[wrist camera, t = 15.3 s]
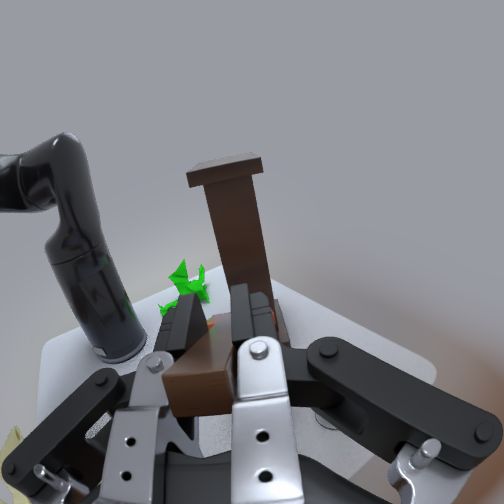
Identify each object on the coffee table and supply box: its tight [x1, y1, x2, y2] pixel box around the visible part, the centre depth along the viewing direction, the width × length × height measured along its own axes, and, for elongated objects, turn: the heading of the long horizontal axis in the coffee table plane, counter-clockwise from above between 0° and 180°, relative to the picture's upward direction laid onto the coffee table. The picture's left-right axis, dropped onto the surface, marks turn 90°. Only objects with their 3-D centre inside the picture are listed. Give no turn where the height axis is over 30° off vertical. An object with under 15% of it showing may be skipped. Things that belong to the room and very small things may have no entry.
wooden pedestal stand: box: [186, 152, 291, 348], centre depth 33 cm, size 10×7×24 cm
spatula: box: [161, 307, 276, 418], centre depth 14 cm, size 18×5×1 cm, turn 5°
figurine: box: [158, 259, 209, 316], centre depth 48 cm, size 6×12×9 cm
